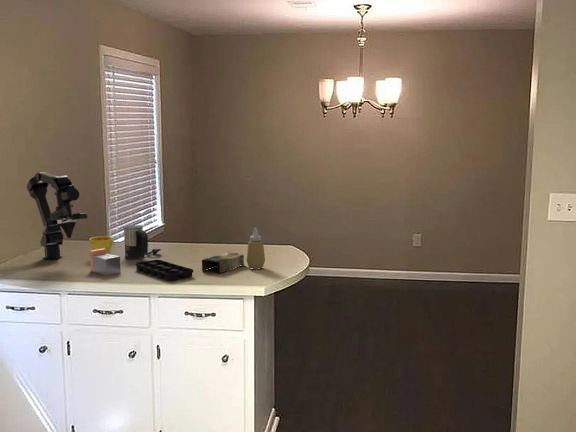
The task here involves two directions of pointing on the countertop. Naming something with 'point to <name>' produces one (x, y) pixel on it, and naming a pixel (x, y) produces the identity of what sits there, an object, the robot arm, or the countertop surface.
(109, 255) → the housing
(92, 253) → the pink block
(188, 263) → the countertop surface
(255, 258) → the squeeze bottle
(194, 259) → the countertop surface
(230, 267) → the juice carton
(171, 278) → the egg carton
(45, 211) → the robot arm
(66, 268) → the countertop surface
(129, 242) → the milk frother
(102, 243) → the plant pot
